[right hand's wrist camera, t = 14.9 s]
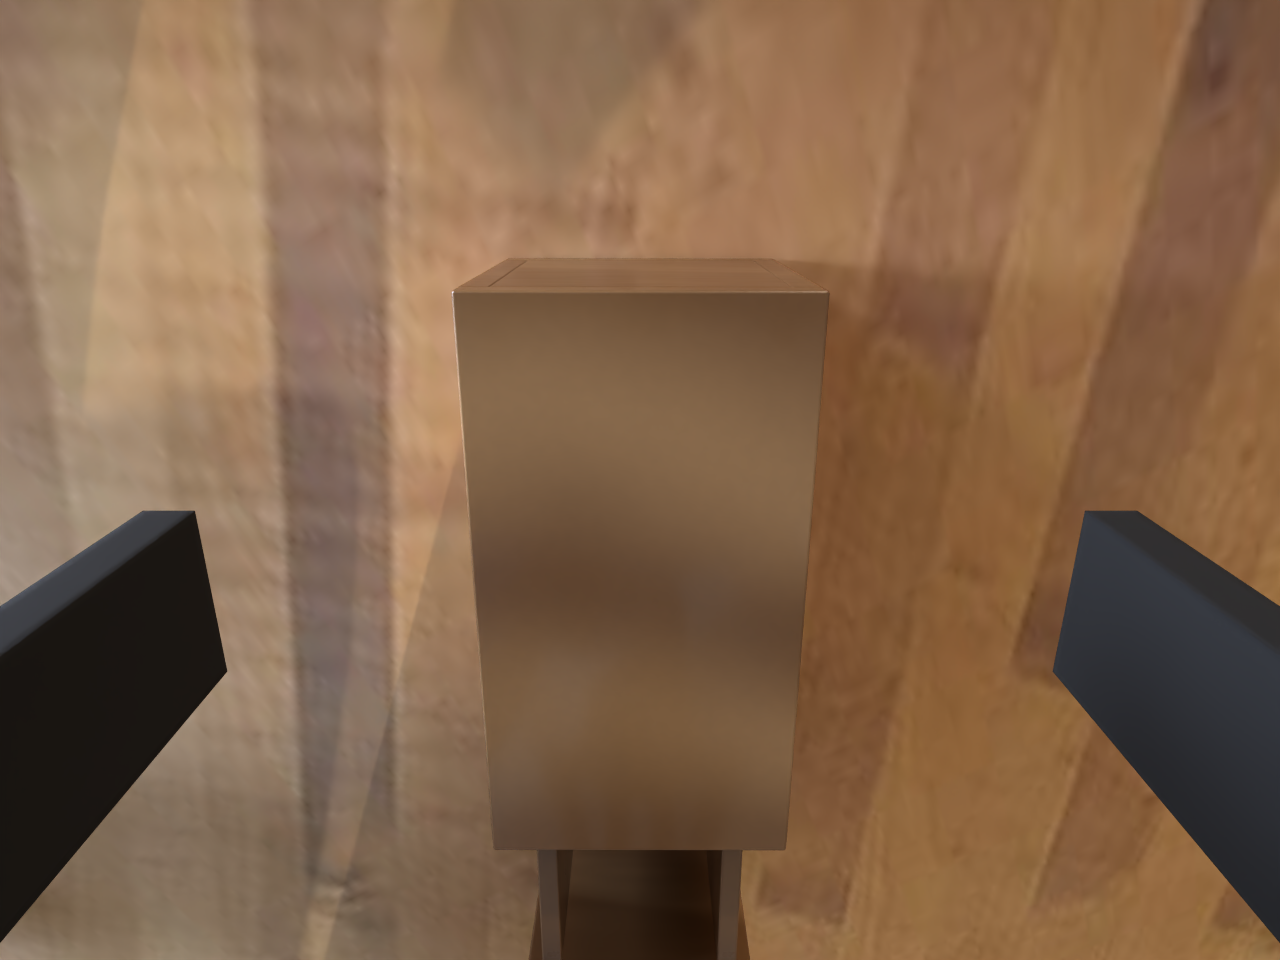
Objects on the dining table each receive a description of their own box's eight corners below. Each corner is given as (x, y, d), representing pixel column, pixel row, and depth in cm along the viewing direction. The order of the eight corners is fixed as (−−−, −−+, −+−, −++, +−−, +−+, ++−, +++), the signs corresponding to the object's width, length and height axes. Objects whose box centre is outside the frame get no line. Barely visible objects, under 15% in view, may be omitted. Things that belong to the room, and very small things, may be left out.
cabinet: (750, 687, 40) (786, 851, 30) (529, 686, 40) (492, 850, 30) (773, 258, 33) (830, 290, 23) (507, 258, 33) (450, 290, 23)
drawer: (728, 939, 45) (747, 1107, 36) (550, 938, 45) (530, 1106, 37) (749, 516, 36) (781, 613, 28) (530, 516, 36) (498, 612, 28)
